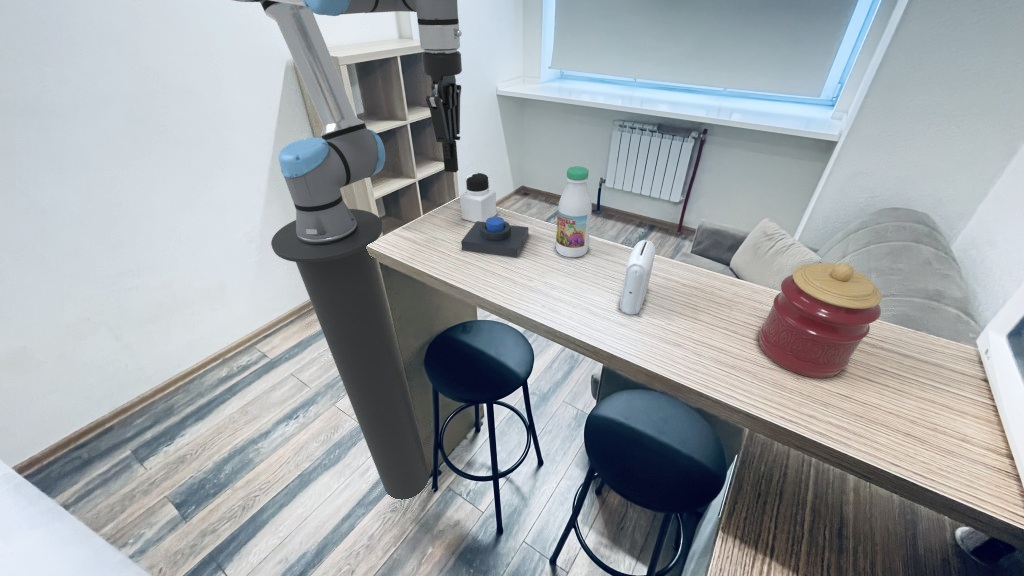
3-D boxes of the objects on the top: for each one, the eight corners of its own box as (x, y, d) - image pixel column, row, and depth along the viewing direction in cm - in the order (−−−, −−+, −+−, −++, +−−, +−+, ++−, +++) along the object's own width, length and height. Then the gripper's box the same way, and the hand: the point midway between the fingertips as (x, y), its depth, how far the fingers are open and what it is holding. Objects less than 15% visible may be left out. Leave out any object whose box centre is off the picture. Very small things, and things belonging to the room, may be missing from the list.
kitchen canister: (838, 338, 72) (890, 253, 62) (850, 390, 63) (914, 300, 53) (756, 318, 77) (792, 236, 67) (756, 364, 68) (798, 277, 57)
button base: (462, 250, 100) (460, 233, 97) (477, 229, 108) (476, 214, 106) (517, 257, 96) (516, 240, 94) (528, 235, 105) (528, 220, 102)
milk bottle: (565, 239, 103) (570, 161, 91) (593, 247, 99) (602, 167, 88) (549, 252, 98) (553, 171, 86) (578, 261, 94) (586, 178, 83)
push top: (484, 231, 99) (483, 223, 97) (489, 223, 102) (489, 215, 101) (501, 233, 98) (501, 225, 96) (506, 225, 101) (506, 217, 100)
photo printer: (639, 317, 78) (650, 263, 71) (616, 312, 79) (626, 258, 72) (648, 288, 85) (660, 236, 78) (628, 284, 87) (637, 232, 80)
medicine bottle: (497, 214, 115) (495, 173, 108) (482, 224, 110) (480, 182, 103) (476, 209, 118) (473, 169, 111) (461, 219, 113) (457, 177, 106)
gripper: (446, 56, 72) (456, 183, 86) (471, 47, 82) (476, 162, 96) (407, 54, 73) (423, 179, 87) (436, 45, 83) (447, 159, 98)
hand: (451, 170), depth 92 cm, fingers closed
